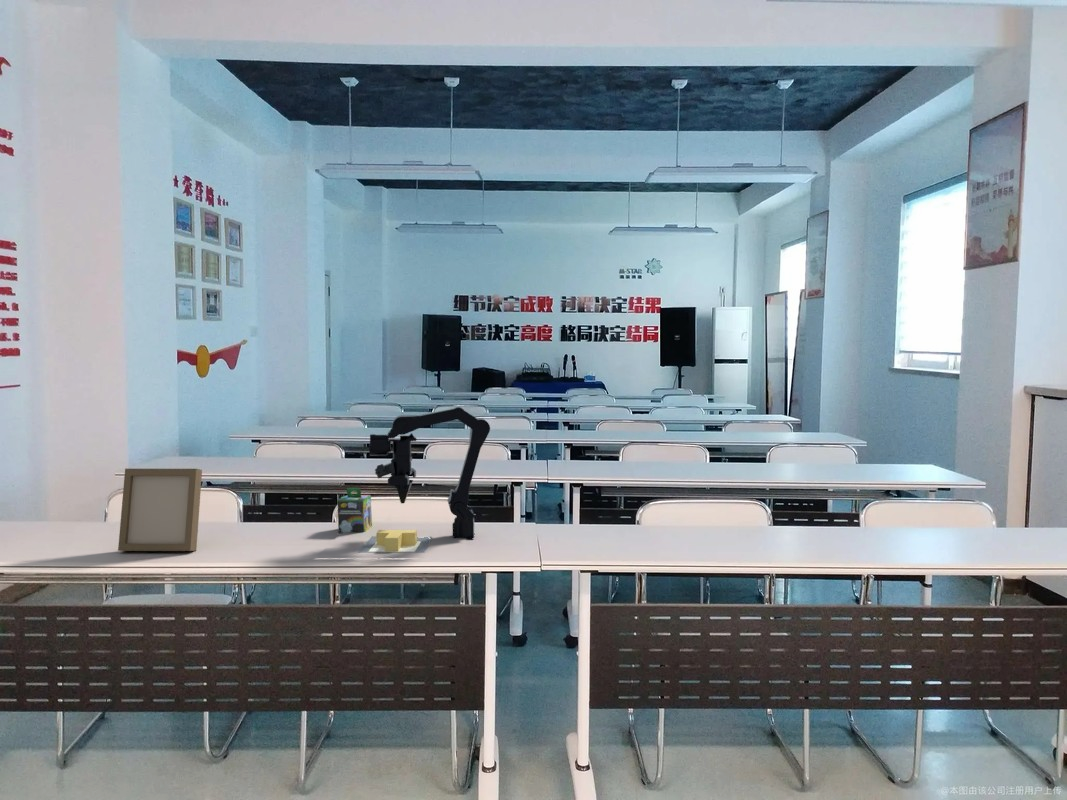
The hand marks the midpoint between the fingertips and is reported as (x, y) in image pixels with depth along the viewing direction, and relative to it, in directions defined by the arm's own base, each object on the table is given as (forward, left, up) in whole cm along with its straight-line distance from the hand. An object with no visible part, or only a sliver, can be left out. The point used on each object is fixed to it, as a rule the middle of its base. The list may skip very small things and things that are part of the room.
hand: (402, 503), depth 261 cm
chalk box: (+19, -13, -12) cm, 26 cm away
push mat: (+1, +8, -12) cm, 14 cm away
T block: (+1, +12, -11) cm, 16 cm away
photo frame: (+72, +12, -12) cm, 73 cm away
